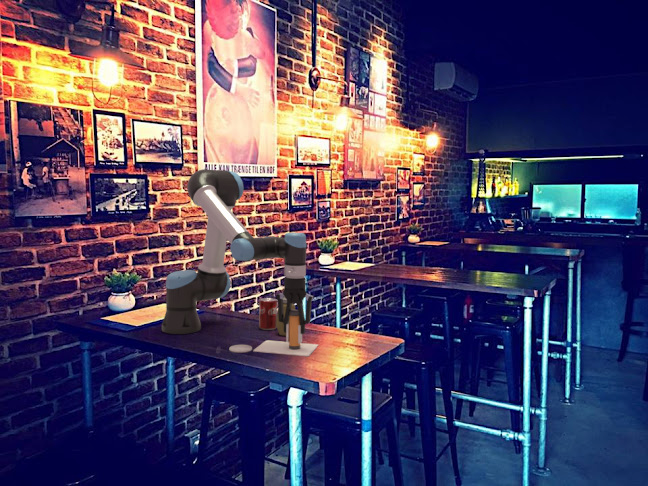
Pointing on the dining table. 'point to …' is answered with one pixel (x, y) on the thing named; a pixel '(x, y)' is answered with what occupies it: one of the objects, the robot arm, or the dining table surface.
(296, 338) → the thermos bottle
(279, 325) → the squeeze bottle
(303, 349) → the paper
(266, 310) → the soda can
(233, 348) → the coaster
